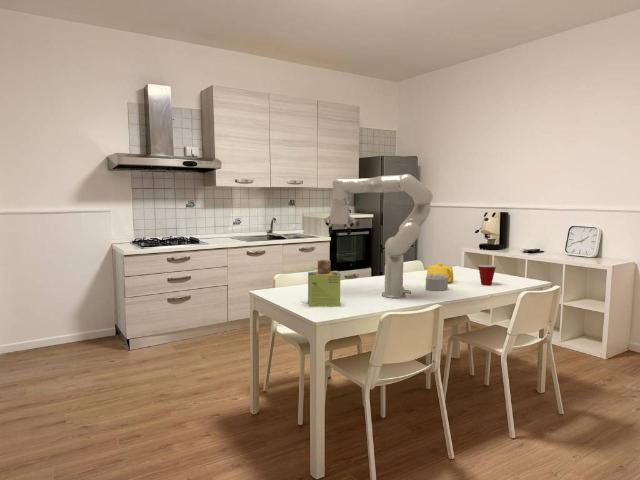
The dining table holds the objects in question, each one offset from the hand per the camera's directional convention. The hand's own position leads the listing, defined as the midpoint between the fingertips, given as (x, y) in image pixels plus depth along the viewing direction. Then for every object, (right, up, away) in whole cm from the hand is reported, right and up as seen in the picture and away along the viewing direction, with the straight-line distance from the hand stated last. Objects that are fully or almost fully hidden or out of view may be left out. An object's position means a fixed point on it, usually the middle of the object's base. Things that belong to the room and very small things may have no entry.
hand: (339, 235), depth 233 cm
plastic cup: (+91, -30, +35) cm, 102 cm away
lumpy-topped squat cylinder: (+56, -31, +20) cm, 67 cm away
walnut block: (-8, -19, -18) cm, 27 cm away
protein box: (-8, -34, -16) cm, 39 cm away
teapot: (+64, -29, +44) cm, 83 cm away
